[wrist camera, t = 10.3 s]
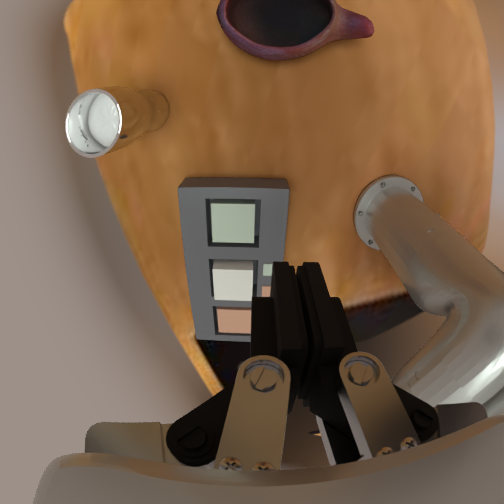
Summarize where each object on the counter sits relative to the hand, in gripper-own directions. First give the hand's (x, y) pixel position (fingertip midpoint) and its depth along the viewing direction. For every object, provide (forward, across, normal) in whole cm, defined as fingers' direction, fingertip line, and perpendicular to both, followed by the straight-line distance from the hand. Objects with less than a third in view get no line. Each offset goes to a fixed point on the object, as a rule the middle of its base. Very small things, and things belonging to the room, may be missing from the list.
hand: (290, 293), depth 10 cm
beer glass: (+29, +16, -6) cm, 34 cm away
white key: (+26, +4, +18) cm, 32 cm away
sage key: (+28, +4, +9) cm, 29 cm away
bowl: (+29, -2, -19) cm, 35 cm away
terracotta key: (+28, +4, +27) cm, 39 cm away
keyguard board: (+29, +4, +18) cm, 34 cm away
